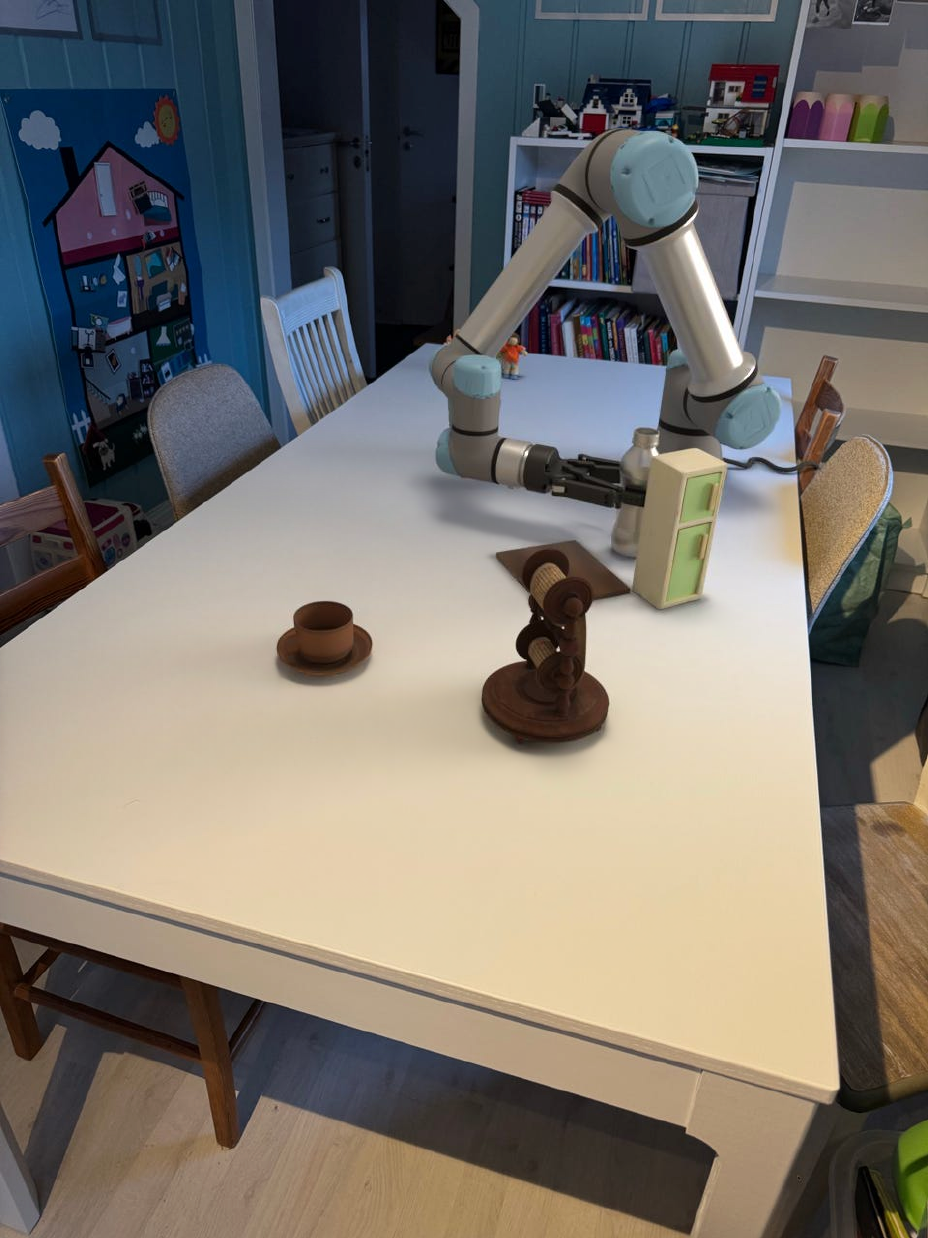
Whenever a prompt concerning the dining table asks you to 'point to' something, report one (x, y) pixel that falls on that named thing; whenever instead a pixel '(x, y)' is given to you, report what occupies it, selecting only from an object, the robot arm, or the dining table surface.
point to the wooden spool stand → (549, 661)
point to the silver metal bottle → (635, 474)
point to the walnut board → (579, 565)
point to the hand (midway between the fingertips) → (672, 494)
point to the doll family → (506, 355)
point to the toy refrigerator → (678, 526)
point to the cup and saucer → (324, 640)
